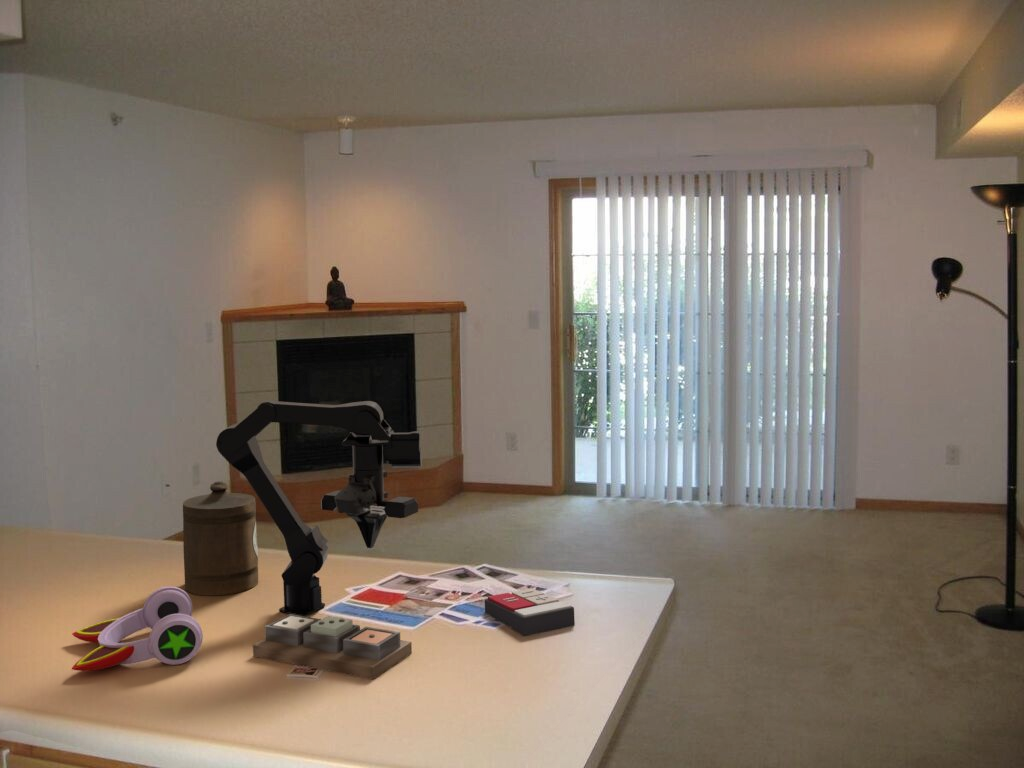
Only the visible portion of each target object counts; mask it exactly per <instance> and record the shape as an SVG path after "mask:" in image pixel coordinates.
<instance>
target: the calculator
mask: <svg viewBox="0 0 1024 768" xmlns="http://www.w3.org/2000/svg"><path fill="white" fill-rule="evenodd" d="M574 607H575V606H572V605H571V604H568V603H567V602H563V601H561V600H560V601H559V598H556V597H554V596H552V595H550V594H546V593H544V592H542V591H539V590H537V589H535V588H532V587H531V588H526V589H520V590H516V591H511V593H510V592H504V593H500V594H495V595H494V594H493V595H488V596H487V598H485V599H484V614H486V613H487V615H488V614H489V615H490V616H489V615H488V616H489V617H492V618H493V619H494V618H495V620H497V622H499V623H502V624H503V625H506V626H508V627H509V628H511V630H513V631H515V632H516V633H517V634H519V635H521V636H522V637H527V636H532V635H537V634H541V633H547V632H551V631H555V630H556V631H557V630H559V629H565V628H568V627H574V626H575V625H576V624H575V623H576V622H575V608H574Z"/></svg>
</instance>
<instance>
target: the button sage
mask: <svg viewBox="0 0 1024 768" xmlns="http://www.w3.org/2000/svg"><path fill="white" fill-rule="evenodd" d="M320 619H321V620H319V621H317V622H315V623H314V624H312V625H311V633H315V634H321V635H327V636H333V637H337V636H339V635H341V634H342V633H344V632H346V631H348V630H349V629H351V628H353V625H354V624H353V619H350V618H345V617H344V618H343V617H338V616H332V615H327V616H325V617H324V618H323V617H322V618H320Z"/></svg>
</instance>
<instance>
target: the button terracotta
mask: <svg viewBox="0 0 1024 768" xmlns="http://www.w3.org/2000/svg"><path fill="white" fill-rule="evenodd" d="M391 635H393V634H391V633H385V632H379V631H373V630H366V631H364V632H363V633H361V634H359V635H357V636H356V637H354V638H352V639H351V640H356V641H362V642H367V643H373V644H378V643H380V642H381V641H383V640H385V639H386V638H388V637H389V636H391Z"/></svg>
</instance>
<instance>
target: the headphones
mask: <svg viewBox="0 0 1024 768" xmlns="http://www.w3.org/2000/svg"><path fill="white" fill-rule="evenodd" d="M143 604H144V605H143V606H142V608H139V609H136V610H133V611H131V612H129V613H127V614H125V615H123V616H121V617H116V618H112V619H109V620H108V619H107V620H104V621H101V622H98V623H95V624H92V625H91V624H90V625H89V626H87V627H83V628H80V629H79V630H76V631H74V632H73V633H71V635H72V636H73V637H75V639H78V640H81V641H84V642H88V643H94V644H99V647H97V648H95V649H93V650H92V651H90V652H88V653H87V654H86V655H84V656H83V657H82V658H80V659H79V660H78V661H76V663H75V664H74V665H73V666H72V667H71V670H74V671H79V672H80V671H81V672H87V671H90V672H91V671H97V670H103V669H108V668H111V667H113V666H116V665H131V664H137V663H138V664H139V663H141V662H146V661H149V660H152V659H156V660H158V661H159V662H160V663H163V664H166V665H172V666H173V665H174V666H175V665H181V664H184V663H186V662H188V661H190V660H192V658H194V657H195V656H196V654H197V653H198V652H199V650H200V648H201V646H202V643H203V630H202V628H201V625H200V623H199V622H198V621H197V620H196V618H194V617H193V616H192V615H193V602H192V600H191V597H190V596H189V594H188V593H187V592H186V591H185V590H183V589H182V588H179V587H178V586H177V587H176V586H163V587H159V588H158V589H156V590H154V591H153V592H152V593H151V594H149V595H148V597H147V598H146V599H145V602H144V603H143ZM146 628H150V629H151V630H150V633H149V636H148V637H144V638H141V639H138V640H134V641H129V642H121V641H122V640H124V639H126V638H127V637H130V636H131V635H133V634H134V633H137V632H139V631H142V630H144V629H146Z"/></svg>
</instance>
